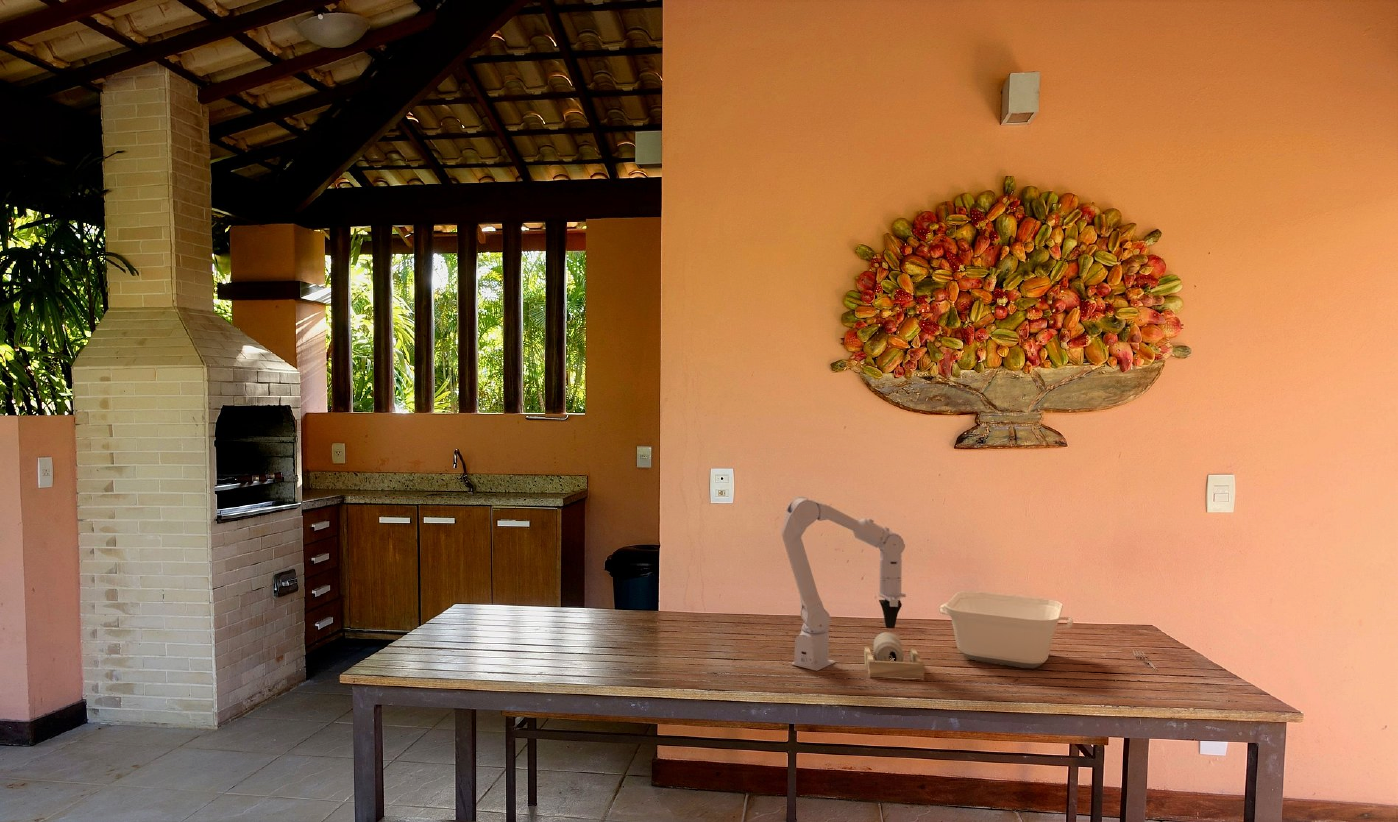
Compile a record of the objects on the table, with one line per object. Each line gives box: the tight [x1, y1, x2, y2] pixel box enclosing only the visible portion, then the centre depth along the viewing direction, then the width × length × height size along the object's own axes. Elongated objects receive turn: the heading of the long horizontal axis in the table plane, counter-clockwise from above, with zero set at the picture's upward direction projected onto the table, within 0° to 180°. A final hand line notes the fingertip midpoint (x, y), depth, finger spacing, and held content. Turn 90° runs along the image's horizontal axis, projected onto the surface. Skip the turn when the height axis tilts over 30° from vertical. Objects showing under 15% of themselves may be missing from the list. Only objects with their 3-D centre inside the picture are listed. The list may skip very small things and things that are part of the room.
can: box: [872, 631, 904, 662], centre depth 207 cm, size 8×8×12 cm
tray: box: [863, 645, 925, 680], centre depth 203 cm, size 14×13×4 cm
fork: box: [1132, 650, 1158, 670], centre depth 207 cm, size 3×24×2 cm, turn 168°
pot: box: [939, 590, 1074, 669], centre depth 215 cm, size 34×29×15 cm
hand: (890, 627), depth 209 cm, fingers closed
